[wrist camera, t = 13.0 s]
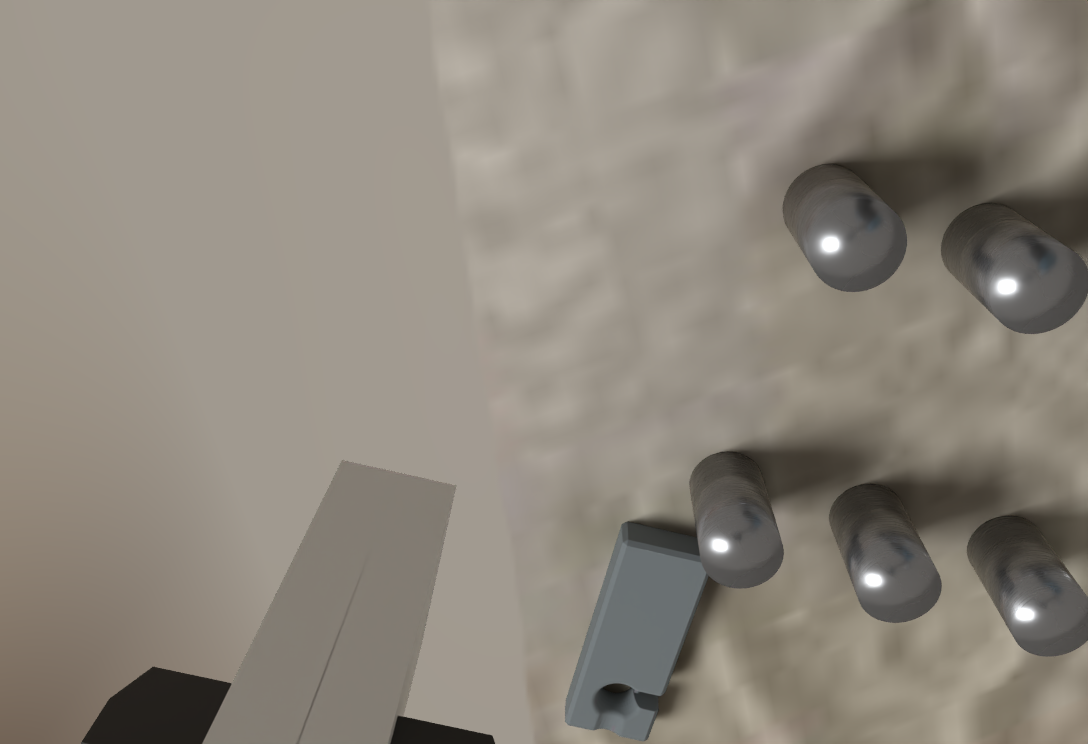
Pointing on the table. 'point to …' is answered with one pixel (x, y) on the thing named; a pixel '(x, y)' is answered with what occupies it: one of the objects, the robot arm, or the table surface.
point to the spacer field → (875, 511)
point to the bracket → (636, 630)
